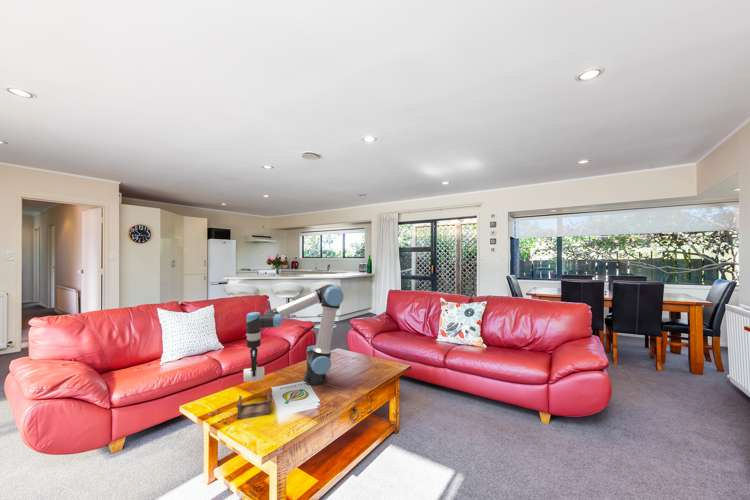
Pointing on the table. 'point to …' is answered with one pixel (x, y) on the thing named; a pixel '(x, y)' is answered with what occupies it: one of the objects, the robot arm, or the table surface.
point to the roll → (249, 375)
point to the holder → (253, 408)
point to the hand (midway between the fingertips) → (254, 378)
